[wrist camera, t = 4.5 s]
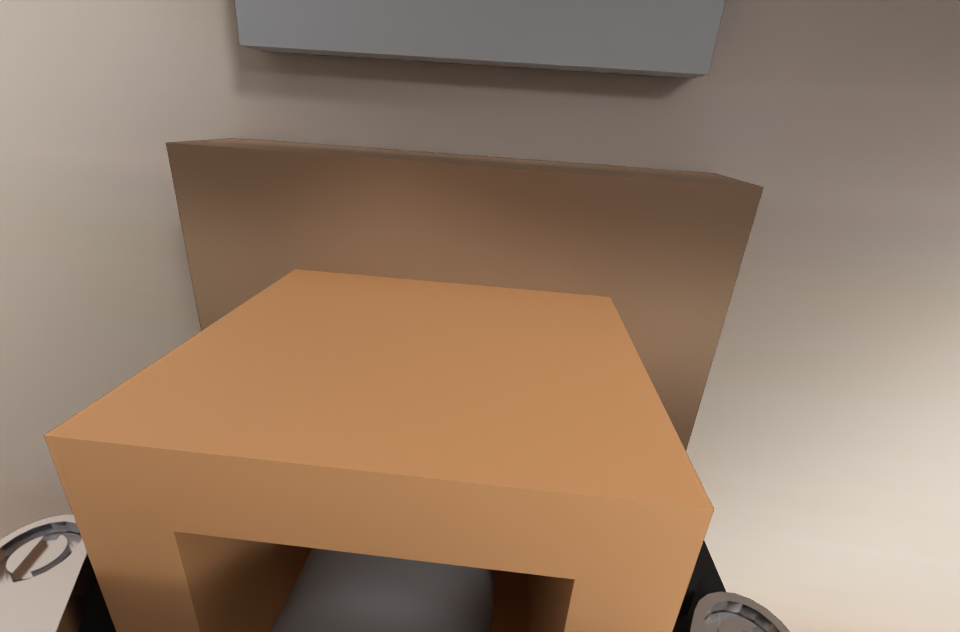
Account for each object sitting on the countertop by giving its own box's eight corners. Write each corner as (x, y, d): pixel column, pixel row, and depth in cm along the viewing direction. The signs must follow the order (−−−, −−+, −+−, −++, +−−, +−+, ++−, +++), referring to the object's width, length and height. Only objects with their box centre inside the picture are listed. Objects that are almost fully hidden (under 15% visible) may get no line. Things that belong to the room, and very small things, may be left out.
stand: (234, 138, 12) (-547, 189, 3) (714, 173, 11) (1360, 357, 3) (282, 497, 17) (18, 914, 8) (623, 536, 16) (743, 1036, 7)
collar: (295, 269, 10) (43, 436, 5) (609, 297, 10) (715, 509, 5) (317, 505, 13) (172, 781, 8) (566, 534, 13) (598, 845, 7)
